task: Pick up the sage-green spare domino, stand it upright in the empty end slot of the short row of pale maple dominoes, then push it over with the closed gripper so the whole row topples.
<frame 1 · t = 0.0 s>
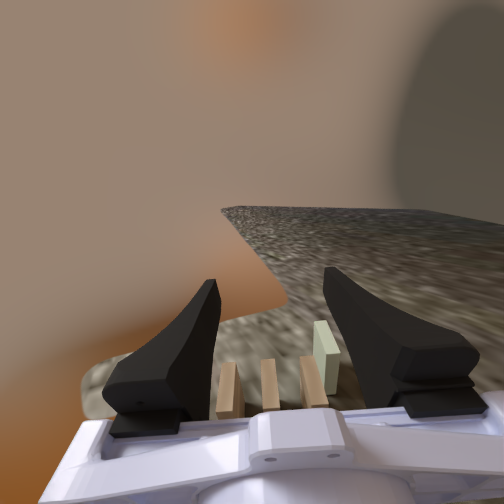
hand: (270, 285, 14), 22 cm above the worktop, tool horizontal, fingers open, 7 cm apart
domino 3: (274, 421, 25), on the worktop
domino 4: (237, 423, 25), on the worktop
domino 2: (311, 418, 25), on the worktop
spare domino: (323, 375, 29), on the worktop
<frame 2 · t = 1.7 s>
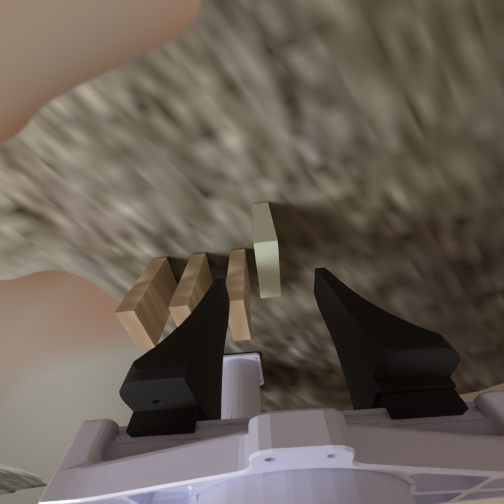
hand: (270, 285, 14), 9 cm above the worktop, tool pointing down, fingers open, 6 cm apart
domino 3: (203, 271, 25), on the worktop
domino 4: (167, 275, 25), on the worktop
domino 2: (240, 267, 24), on the worktop
spare domino: (262, 226, 22), on the worktop
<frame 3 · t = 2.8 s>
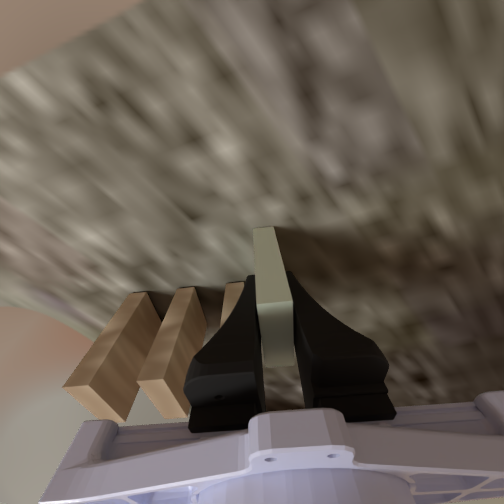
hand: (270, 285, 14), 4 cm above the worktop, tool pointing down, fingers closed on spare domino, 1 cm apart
domino 3: (193, 307, 20), on the worktop
domino 4: (148, 311, 20), on the worktop
domino 2: (238, 302, 20), on the worktop
spare domino: (265, 254, 17), on the worktop, touching gripper
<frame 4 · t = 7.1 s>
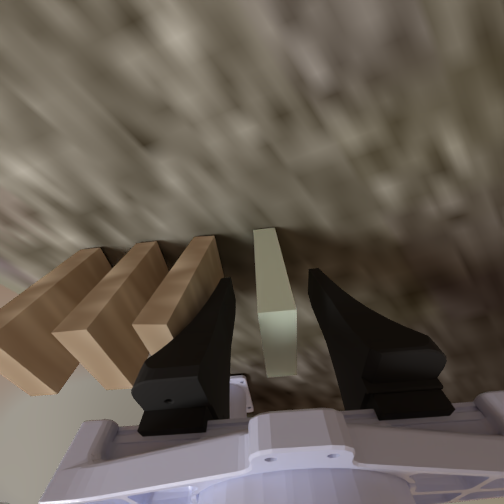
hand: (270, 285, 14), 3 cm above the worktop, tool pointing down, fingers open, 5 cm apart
domino 3: (158, 268, 17), on the worktop
domino 4: (105, 274, 17), on the worktop
domino 2: (211, 263, 17), on the worktop, tilted 6°
spare domino: (266, 256, 17), on the worktop
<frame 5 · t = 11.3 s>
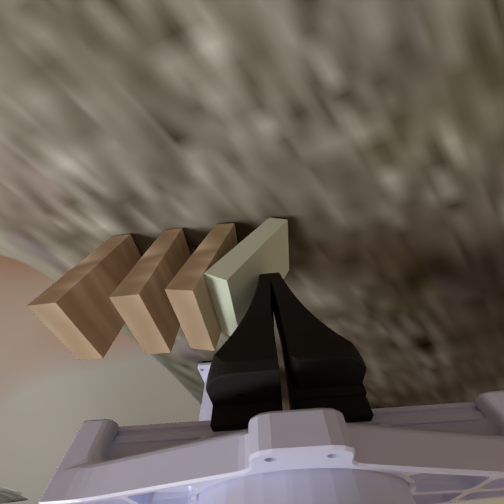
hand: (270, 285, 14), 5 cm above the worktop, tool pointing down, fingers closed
domino 3: (181, 253, 19), on the worktop
domino 4: (133, 259, 19), on the worktop
domino 2: (230, 249, 18), on the worktop, tilted 12°
spare domino: (279, 245, 18), on the worktop, tilted 32°
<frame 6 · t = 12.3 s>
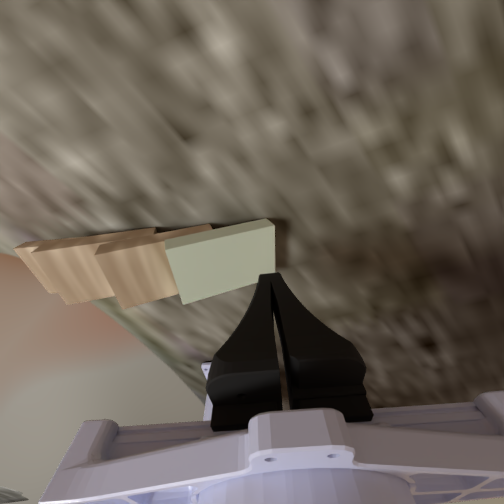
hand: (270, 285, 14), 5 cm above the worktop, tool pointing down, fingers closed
domino 3: (162, 257, 18), point 1 cm above the worktop, tilted 76°, touching domino 2
domino 4: (124, 260, 19), on the worktop, tilted 90°
domino 2: (215, 253, 18), point 1 cm above the worktop, tilted 70°, touching domino 3, spare domino
spare domino: (270, 248, 18), point 1 cm above the worktop, tilted 70°, touching domino 2
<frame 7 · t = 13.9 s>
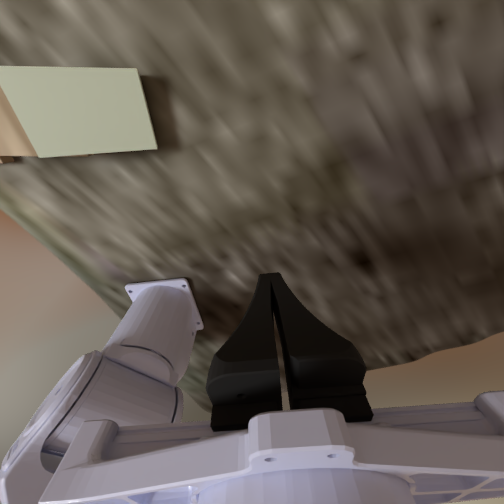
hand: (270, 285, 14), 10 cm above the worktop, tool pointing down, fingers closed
domino 2: (79, 120, 16), point 1 cm above the worktop, tilted 70°, touching domino 3, spare domino
spare domino: (148, 112, 16), point 1 cm above the worktop, tilted 72°, touching domino 2
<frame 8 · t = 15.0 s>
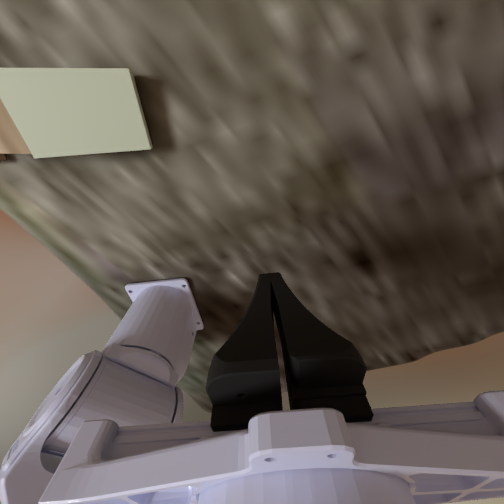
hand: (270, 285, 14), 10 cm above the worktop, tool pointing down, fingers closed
domino 2: (60, 118, 16), point 1 cm above the worktop, tilted 67°
spare domino: (142, 112, 16), point 1 cm above the worktop, tilted 74°
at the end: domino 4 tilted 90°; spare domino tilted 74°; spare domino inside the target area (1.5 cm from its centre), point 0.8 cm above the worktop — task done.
